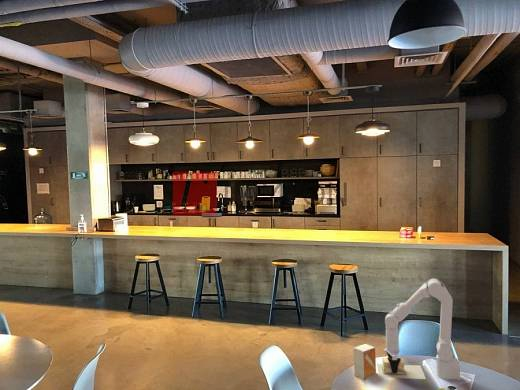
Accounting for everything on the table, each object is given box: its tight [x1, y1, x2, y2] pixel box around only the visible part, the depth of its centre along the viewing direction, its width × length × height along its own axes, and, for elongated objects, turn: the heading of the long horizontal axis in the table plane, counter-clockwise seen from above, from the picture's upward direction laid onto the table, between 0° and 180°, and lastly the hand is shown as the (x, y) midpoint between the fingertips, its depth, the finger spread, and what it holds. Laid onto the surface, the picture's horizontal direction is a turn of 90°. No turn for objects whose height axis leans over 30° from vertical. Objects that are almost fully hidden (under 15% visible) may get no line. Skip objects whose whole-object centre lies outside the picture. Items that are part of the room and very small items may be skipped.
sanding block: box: [382, 357, 405, 374], centre depth 198 cm, size 9×5×5 cm, turn 79°
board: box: [376, 363, 427, 380], centre depth 197 cm, size 20×14×1 cm
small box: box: [353, 343, 377, 380], centre depth 197 cm, size 8×6×13 cm
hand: (393, 369), depth 198 cm, fingers open, 7 cm apart
